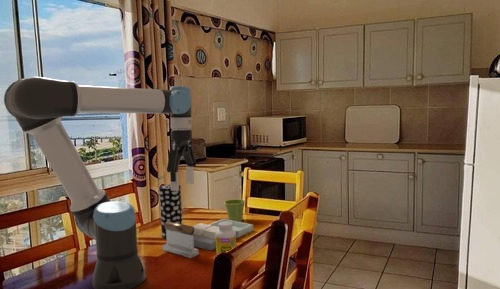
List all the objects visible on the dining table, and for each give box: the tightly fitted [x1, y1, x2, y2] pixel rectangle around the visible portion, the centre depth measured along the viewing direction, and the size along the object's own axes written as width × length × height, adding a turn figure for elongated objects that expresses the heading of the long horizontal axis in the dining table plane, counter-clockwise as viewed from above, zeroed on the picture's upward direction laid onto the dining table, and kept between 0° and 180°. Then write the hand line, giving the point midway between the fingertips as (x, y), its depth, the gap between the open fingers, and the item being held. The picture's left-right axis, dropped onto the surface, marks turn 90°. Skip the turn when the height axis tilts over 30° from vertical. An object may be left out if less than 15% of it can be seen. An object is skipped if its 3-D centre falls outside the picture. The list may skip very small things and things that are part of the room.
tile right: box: [203, 226, 219, 239], centre depth 157 cm, size 6×6×2 cm
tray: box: [208, 218, 254, 238], centre depth 170 cm, size 10×16×2 cm, turn 53°
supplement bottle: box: [215, 221, 237, 255], centre depth 138 cm, size 7×7×13 cm
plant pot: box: [223, 198, 246, 222], centre depth 183 cm, size 9×9×9 cm
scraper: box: [162, 221, 199, 259], centre depth 147 cm, size 4×14×10 cm, turn 53°
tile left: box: [192, 222, 212, 236], centre depth 161 cm, size 6×6×2 cm
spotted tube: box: [158, 184, 183, 240], centre depth 165 cm, size 8×8×20 cm
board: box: [192, 231, 239, 251], centre depth 159 cm, size 16×16×2 cm
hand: (182, 186), depth 153 cm, fingers open, 13 cm apart
